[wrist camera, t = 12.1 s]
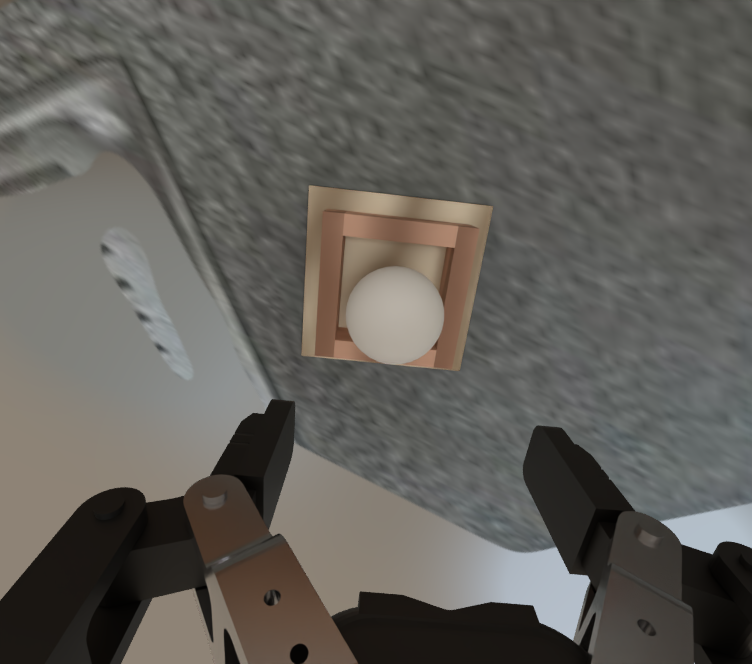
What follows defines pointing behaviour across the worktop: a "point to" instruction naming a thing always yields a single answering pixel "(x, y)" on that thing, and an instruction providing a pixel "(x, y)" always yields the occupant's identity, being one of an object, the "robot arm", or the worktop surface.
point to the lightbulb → (394, 315)
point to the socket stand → (389, 263)
